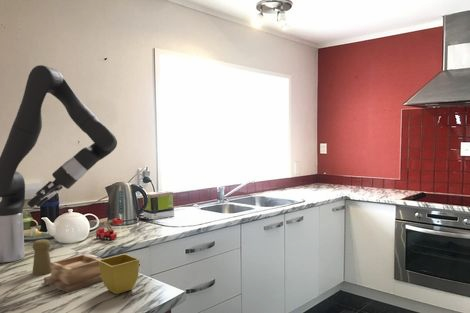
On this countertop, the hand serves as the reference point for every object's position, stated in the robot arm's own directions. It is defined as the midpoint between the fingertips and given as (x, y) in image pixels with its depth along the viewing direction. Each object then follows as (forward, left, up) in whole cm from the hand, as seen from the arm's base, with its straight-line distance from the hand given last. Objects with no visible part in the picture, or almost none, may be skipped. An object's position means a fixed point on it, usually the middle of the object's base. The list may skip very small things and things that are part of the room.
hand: (32, 205), depth 126 cm
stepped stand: (+22, +3, -22) cm, 32 cm away
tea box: (-37, +86, -22) cm, 96 cm away
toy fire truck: (-16, +39, -22) cm, 48 cm away
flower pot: (+40, +6, -22) cm, 47 cm away
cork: (+5, 0, -22) cm, 23 cm away
